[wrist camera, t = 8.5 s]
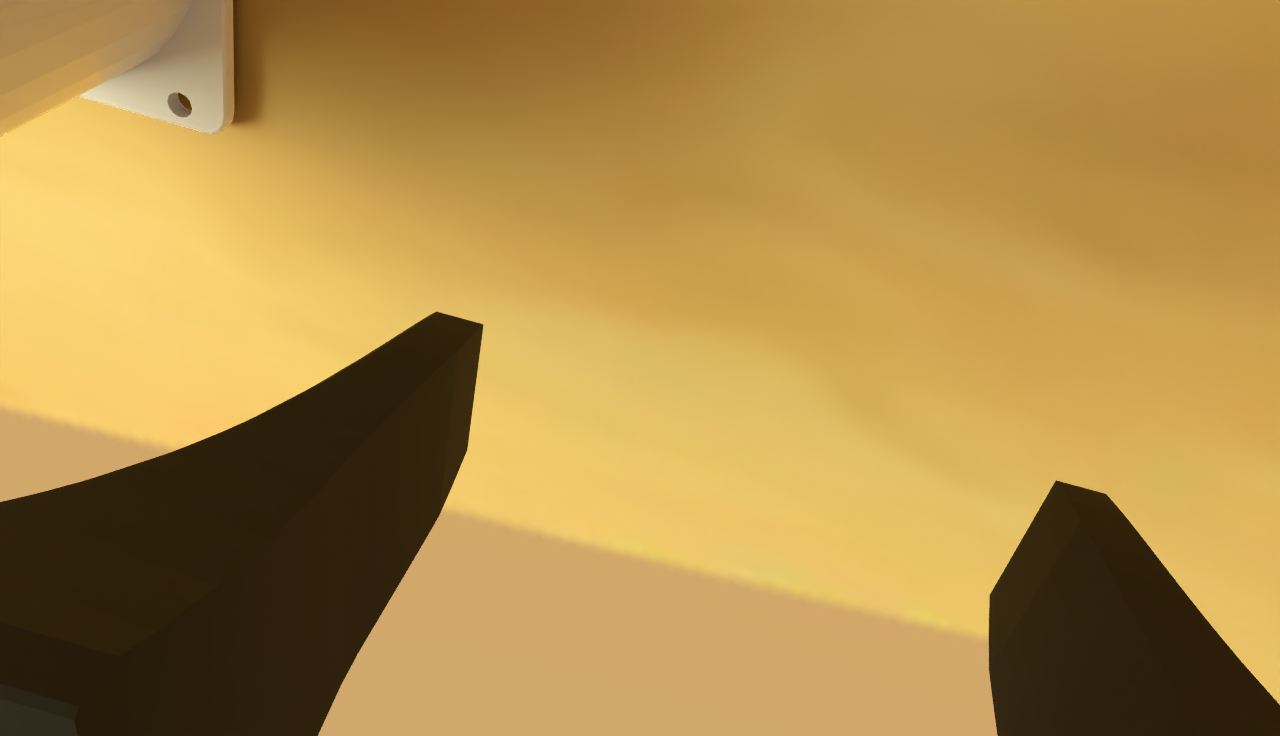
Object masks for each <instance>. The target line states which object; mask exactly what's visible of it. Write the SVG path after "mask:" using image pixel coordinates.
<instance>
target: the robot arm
mask: <svg viewBox="0 0 1280 736" xmlns="http://www.w3.org/2000/svg"><path fill="white" fill-rule="evenodd" d="M178 93H181V94H183V95H184V96H186V97H187V99H188V100H189V101H190V103H191V106H192V111H190V110H188V109H187V108H185V107H184V106H183V105H182V104H181V102H180V100H179V97H178ZM76 97H81V98H84V99H88V100H91V101H95V102H98V103H101V104H105V105H108V106H112V107H115V108H119V109H122V110H126V111H129V112H133V113H136V114H140V115H143V116H147V117H150V118H154V119H157V120H161V121H164V122H168V123H171V124H175V125H178V126H182V127H185V128H189V129H192V130H195V131H199V132H202V133H208V134H215V133H217V132H220V131H222V130H223V129H225V128H226V127H228V126H229V124H230V123H231V122H232V121H233V117H234V40H233V0H0V137H1V136H3V135H4V134H6V133H8V132H10V131H12V130H14V129H16V128H18V127H20V126H22V125H24V124H26V123H28V122H30V121H31V120H33V119H35V118H37V117H39V116H41V115H43V114H45V113H47V112H49V111H51V110H53V109H55V108H57V107H58V106H60V105H62V104H64V103H66V102H68V101H70V100H72V99H74V98H76ZM482 331H483V324H480V323H476V322H472V321H469V320H465V319H461V318H458V317H454V316H450V315H447V314H443V313H439V312H435V313H433V314H431V315H430V316H428V317H426V318H424V319H423V320H421V321H419V322H418V323H416V324H415V325H413V326H411V327H410V328H408V329H407V330H405V331H404V332H402V333H400V334H399V335H397V336H396V337H394V338H393V339H391V340H390V341H388V342H386V343H385V344H383V345H382V346H380V347H378V348H377V349H375V350H374V351H372V352H370V353H369V354H367V355H366V356H364V357H362V358H361V359H359V360H358V361H356V362H354V363H352V364H351V365H349V366H347V367H346V368H344V369H342V370H341V371H339V372H337V373H335V374H334V375H332V376H330V377H329V378H327V379H325V380H324V381H322V382H320V383H319V384H317V385H315V386H313V387H311V388H310V389H308V390H306V391H304V392H302V393H300V394H298V395H297V396H295V397H293V398H291V399H289V400H287V401H285V402H283V403H281V404H279V405H277V406H275V407H273V408H272V409H270V410H268V411H266V412H264V413H262V414H260V415H258V416H256V417H254V418H252V419H250V420H248V421H246V422H243V423H241V424H239V425H237V426H234V427H232V428H230V429H228V430H225V431H223V432H221V433H218V434H216V435H213V436H211V437H209V438H206V439H204V440H201V441H199V442H196V443H194V444H191V445H189V446H186V447H184V448H181V449H179V450H176V451H173V452H171V453H168V454H165V455H162V456H159V457H156V458H153V459H150V460H147V461H144V462H141V463H138V464H135V465H132V466H129V467H126V468H123V469H120V470H116V471H114V472H110V473H108V474H104V475H102V476H98V477H96V478H92V479H89V480H85V481H82V482H79V483H75V484H71V485H67V486H64V487H60V488H56V489H53V490H49V491H45V492H41V493H37V494H33V495H29V496H25V497H20V498H17V499H12V500H8V501H4V502H0V736H318V733H319V732H320V729H321V727H322V725H323V723H324V721H325V719H326V716H327V714H328V712H329V710H330V708H331V706H332V703H333V701H334V699H335V696H336V695H337V693H338V690H339V688H340V686H341V684H342V682H343V680H344V678H345V677H346V675H347V673H348V671H349V669H350V667H351V665H352V663H353V662H354V660H355V658H356V656H357V654H358V652H359V651H360V649H361V647H362V646H363V644H364V642H365V641H366V639H367V637H368V635H369V634H370V632H371V630H372V629H373V627H374V625H375V624H376V622H377V620H378V619H379V617H380V615H381V614H382V612H383V610H384V608H385V607H386V605H387V603H388V602H389V600H390V598H391V597H392V595H393V593H394V592H395V590H396V588H397V587H398V585H399V583H400V582H401V580H402V578H403V577H404V575H405V573H406V571H407V570H408V568H409V566H410V565H411V563H412V561H413V560H414V558H415V556H416V554H417V553H418V551H419V549H420V548H421V546H422V544H423V543H424V541H425V539H426V537H427V536H428V534H429V532H430V531H431V529H432V527H433V525H434V524H435V522H436V520H437V518H438V517H439V515H440V512H441V510H442V508H443V506H444V503H445V501H446V499H447V496H448V494H449V492H450V490H451V487H452V485H453V483H454V480H455V478H456V475H457V473H458V471H459V468H460V466H461V463H462V461H463V459H464V456H465V454H466V451H467V447H468V439H469V431H470V424H471V416H472V408H473V400H474V393H475V385H476V377H477V370H478V362H479V354H480V346H481V339H482ZM989 672H990V681H991V689H992V696H993V704H994V712H995V719H996V727H997V734H998V736H1280V705H1279V704H1278V703H1277V701H1276V700H1275V699H1274V698H1273V697H1272V696H1271V695H1270V694H1269V692H1268V691H1267V690H1266V689H1265V688H1264V687H1263V686H1262V685H1261V683H1260V682H1259V681H1258V680H1257V679H1256V678H1255V677H1254V676H1253V674H1252V673H1251V672H1250V671H1249V670H1248V669H1247V668H1246V666H1245V665H1244V664H1243V663H1242V662H1241V661H1240V660H1239V658H1238V657H1237V656H1236V655H1235V654H1234V652H1233V651H1232V650H1231V649H1230V648H1229V646H1228V645H1227V644H1226V643H1225V642H1224V641H1223V639H1222V638H1221V637H1220V636H1219V634H1218V633H1217V632H1216V631H1215V630H1214V628H1213V627H1212V626H1211V625H1210V623H1209V622H1208V621H1207V620H1206V619H1205V617H1204V616H1203V615H1202V614H1201V612H1200V611H1199V610H1198V609H1197V607H1196V606H1195V605H1194V604H1193V602H1192V601H1191V600H1190V599H1189V597H1188V596H1187V595H1186V593H1185V592H1184V591H1183V590H1182V588H1181V587H1180V586H1179V585H1178V583H1177V582H1176V581H1175V579H1174V578H1173V577H1172V576H1171V574H1170V573H1169V572H1168V570H1167V569H1166V568H1165V567H1164V565H1163V564H1162V563H1161V561H1160V560H1159V559H1158V558H1157V556H1156V555H1155V554H1154V552H1153V551H1152V550H1151V548H1150V547H1149V546H1148V545H1147V543H1146V542H1145V541H1144V539H1143V538H1142V537H1141V536H1140V534H1139V533H1138V532H1137V531H1136V529H1135V528H1134V527H1133V525H1132V524H1131V523H1130V522H1129V520H1128V519H1127V518H1126V517H1125V516H1124V514H1123V513H1122V512H1121V511H1120V509H1119V508H1118V507H1117V506H1116V505H1115V504H1114V503H1113V501H1112V500H1111V499H1110V498H1109V497H1108V496H1107V495H1106V494H1104V493H1100V492H1096V491H1093V490H1089V489H1085V488H1082V487H1078V486H1074V485H1071V484H1067V483H1063V482H1060V481H1056V482H1055V483H1054V485H1053V487H1052V488H1051V490H1050V492H1049V494H1048V495H1047V497H1046V499H1045V501H1044V502H1043V504H1042V506H1041V507H1040V509H1039V511H1038V513H1037V514H1036V516H1035V518H1034V520H1033V521H1032V523H1031V525H1030V527H1029V528H1028V530H1027V532H1026V533H1025V535H1024V537H1023V539H1022V540H1021V542H1020V544H1019V546H1018V547H1017V549H1016V551H1015V552H1014V554H1013V556H1012V558H1011V559H1010V561H1009V563H1008V565H1007V566H1006V568H1005V570H1004V572H1003V573H1002V575H1001V577H1000V578H999V580H998V582H997V584H996V585H995V587H994V589H993V591H992V592H991V594H990V608H989Z"/></svg>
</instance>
